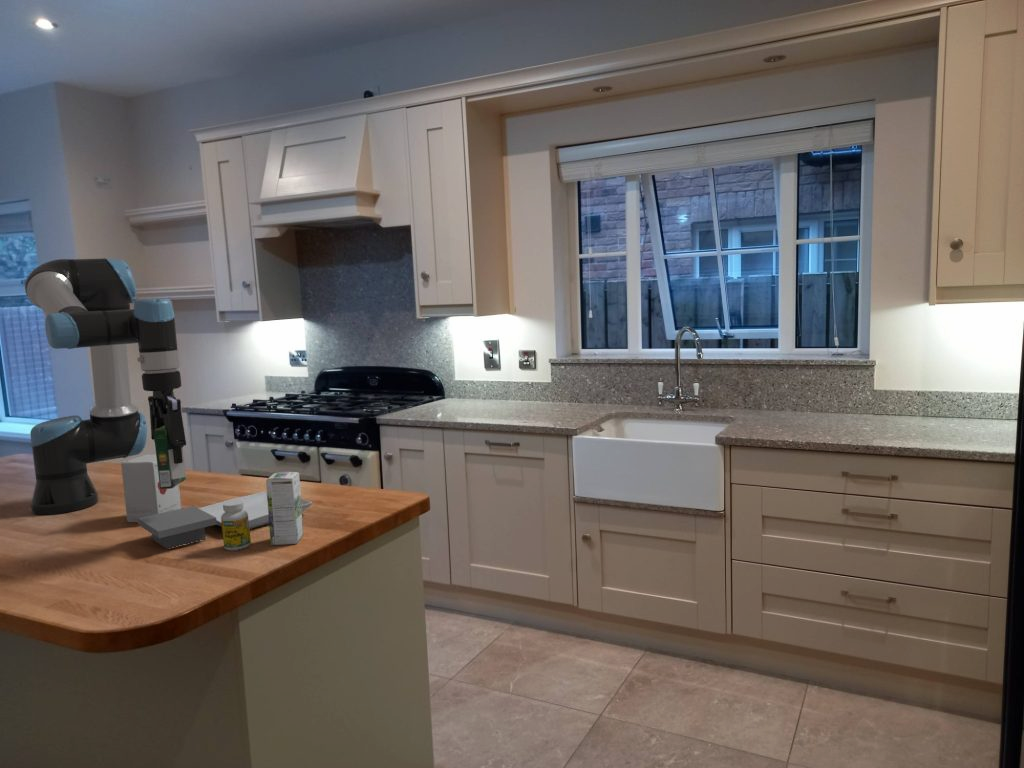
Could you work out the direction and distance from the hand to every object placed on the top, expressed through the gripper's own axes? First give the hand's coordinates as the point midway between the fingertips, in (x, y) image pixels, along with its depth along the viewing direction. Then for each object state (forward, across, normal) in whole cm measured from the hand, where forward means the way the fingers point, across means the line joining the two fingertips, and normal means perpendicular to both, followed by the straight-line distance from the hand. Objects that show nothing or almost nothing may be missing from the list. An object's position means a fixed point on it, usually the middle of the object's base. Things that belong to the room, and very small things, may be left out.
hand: (172, 474), depth 160 cm
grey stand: (+15, 0, 0) cm, 15 cm away
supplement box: (+15, -23, +2) cm, 28 cm away
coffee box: (+2, 0, 0) cm, 2 cm away
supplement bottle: (+15, +15, +7) cm, 22 cm away
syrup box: (+15, +20, +16) cm, 30 cm away
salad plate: (+15, -3, +18) cm, 24 cm away
